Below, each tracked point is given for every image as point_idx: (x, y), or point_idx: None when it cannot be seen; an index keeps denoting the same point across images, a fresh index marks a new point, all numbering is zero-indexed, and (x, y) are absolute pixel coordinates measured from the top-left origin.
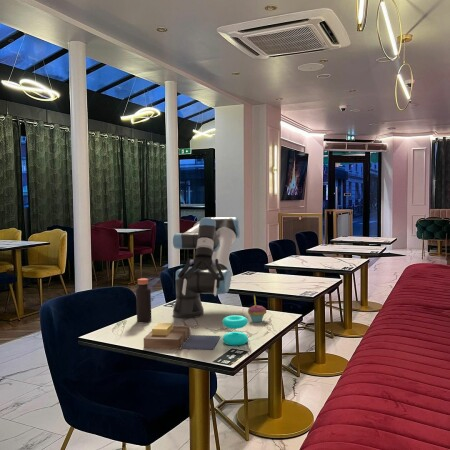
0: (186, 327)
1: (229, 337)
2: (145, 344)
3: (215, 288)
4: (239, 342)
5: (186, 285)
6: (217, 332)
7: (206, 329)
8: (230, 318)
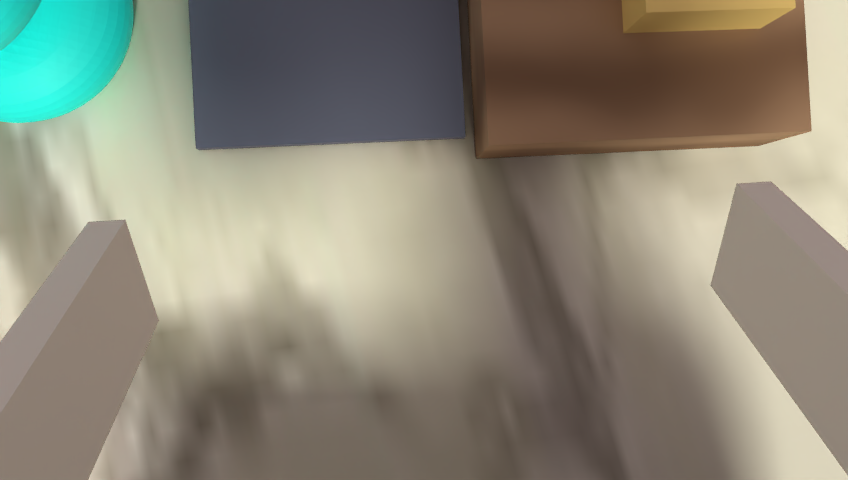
0: (507, 91)
1: None
2: None
3: (44, 295)
4: None
5: None
6: (254, 281)
7: (378, 357)
8: None
